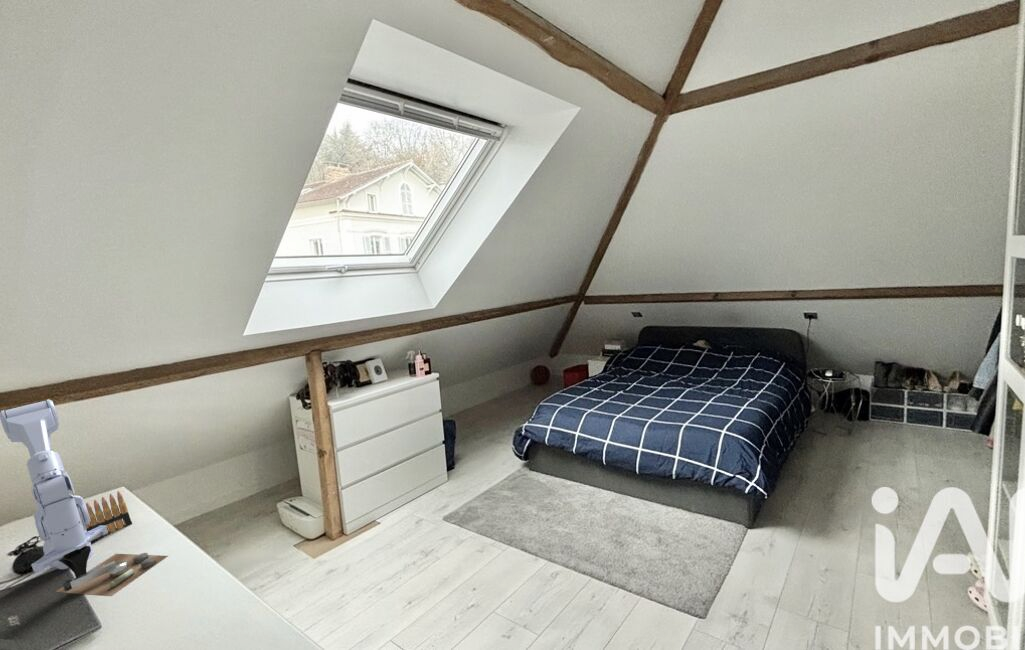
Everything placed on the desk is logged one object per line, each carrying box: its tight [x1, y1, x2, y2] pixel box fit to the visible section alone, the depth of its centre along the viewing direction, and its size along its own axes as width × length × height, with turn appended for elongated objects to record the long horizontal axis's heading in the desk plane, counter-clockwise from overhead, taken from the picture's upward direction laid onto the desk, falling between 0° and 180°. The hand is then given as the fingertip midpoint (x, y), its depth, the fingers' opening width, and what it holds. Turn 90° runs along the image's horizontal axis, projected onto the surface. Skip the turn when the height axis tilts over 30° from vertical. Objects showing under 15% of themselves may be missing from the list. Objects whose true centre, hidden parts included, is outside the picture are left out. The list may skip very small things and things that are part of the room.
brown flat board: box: [55, 552, 169, 597], centre depth 119 cm, size 18×14×3 cm
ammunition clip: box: [85, 490, 133, 546], centre depth 139 cm, size 11×2×12 cm, turn 137°
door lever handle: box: [61, 561, 129, 591], centre depth 115 cm, size 12×4×3 cm, turn 135°
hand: (82, 578), depth 115 cm, fingers closed, pressing on door lever handle
